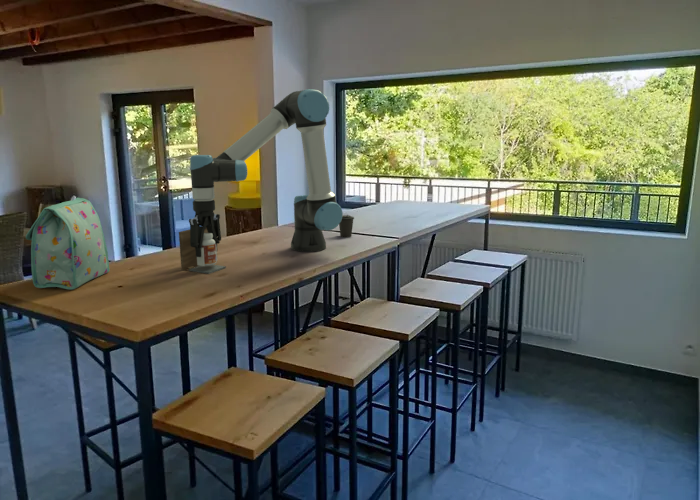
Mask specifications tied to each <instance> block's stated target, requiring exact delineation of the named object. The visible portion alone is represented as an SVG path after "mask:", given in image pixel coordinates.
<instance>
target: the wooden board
mask: <svg viewBox="0 0 700 500" xmlns="http://www.w3.org/2000/svg"><path fill="white" fill-rule="evenodd" d="M204 233H208V231H207V228H206V229H205V230H204ZM178 238H179V239H178V241H179V252H180V254H179V255H180V269H181V271H189V269H192V268H195V267H198V266H199V265H197V257H196V250H195V248H194V247H191V246H190V229H185V230H182V231H178Z"/></svg>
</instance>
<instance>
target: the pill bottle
mask: <svg viewBox="0 0 700 500" xmlns="http://www.w3.org/2000/svg"><path fill="white" fill-rule="evenodd" d="M212 238H213V234H212V233H204V236H203V242H202V248H204V262H205V266H209V265H217V262H216V245H215V240H213V239H212Z"/></svg>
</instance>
